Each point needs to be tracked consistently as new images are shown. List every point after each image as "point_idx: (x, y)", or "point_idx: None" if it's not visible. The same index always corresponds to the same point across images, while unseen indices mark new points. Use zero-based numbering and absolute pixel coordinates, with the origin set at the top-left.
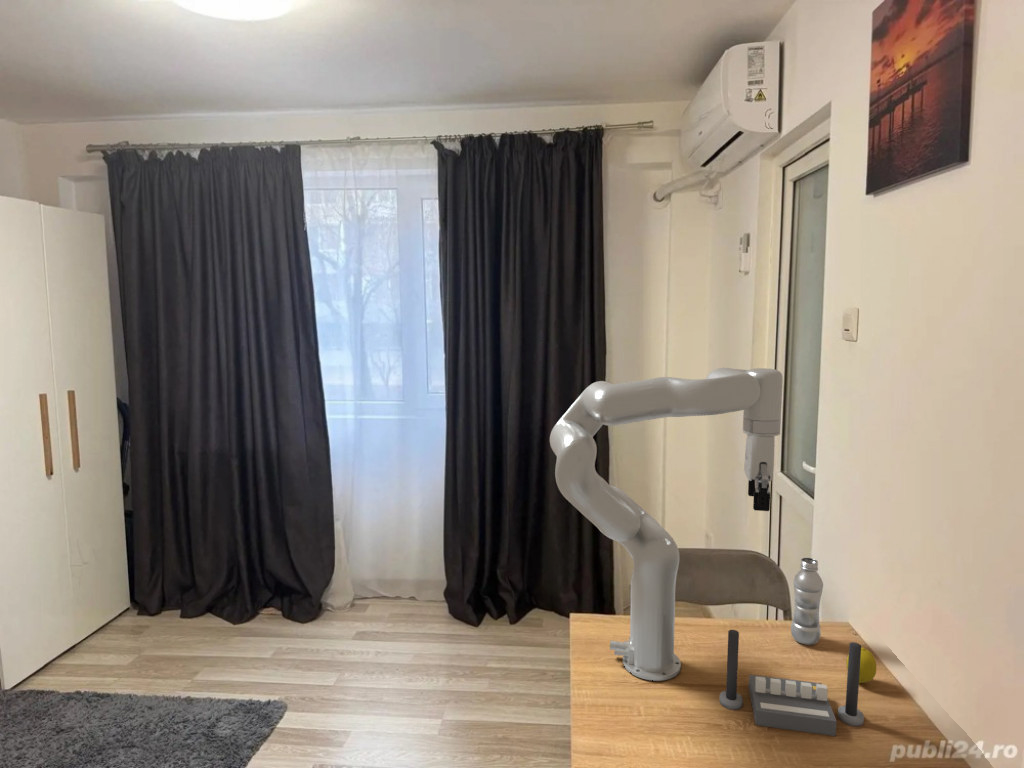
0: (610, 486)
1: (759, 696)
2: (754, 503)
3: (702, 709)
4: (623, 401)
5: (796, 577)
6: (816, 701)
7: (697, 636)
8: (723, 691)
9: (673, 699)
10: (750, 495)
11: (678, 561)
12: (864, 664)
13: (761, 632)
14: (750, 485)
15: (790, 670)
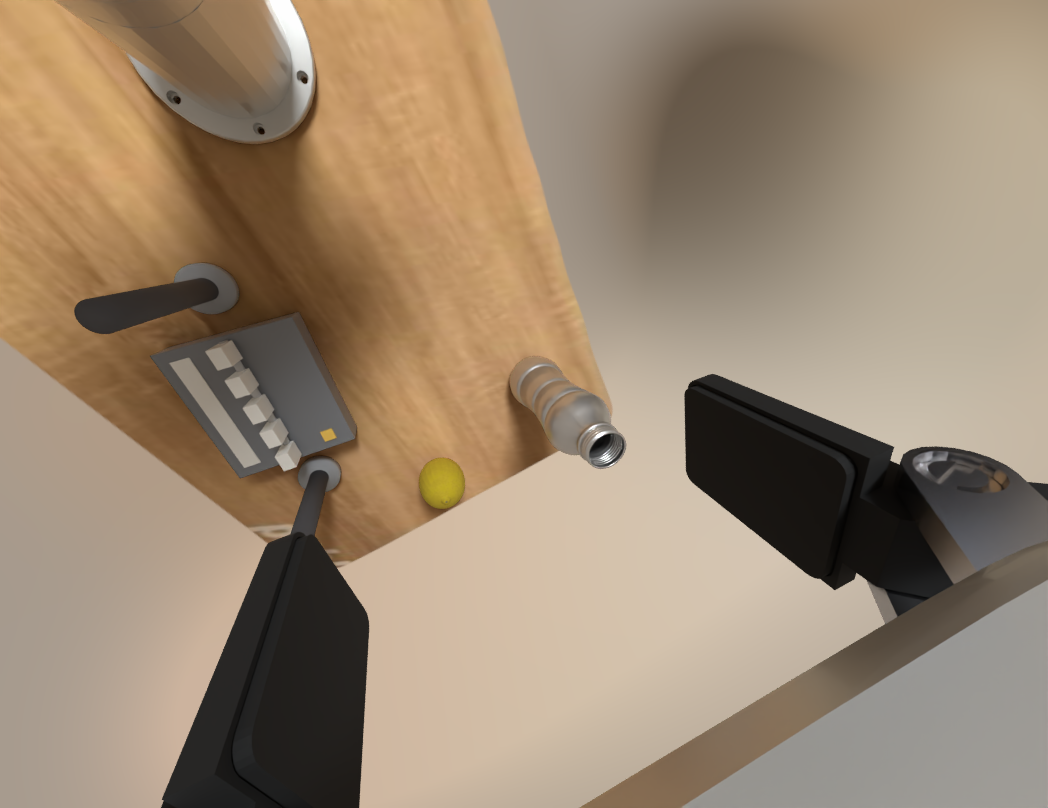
0: None
1: None
2: (249, 603)
3: (127, 231)
4: None
5: (574, 406)
6: None
7: (447, 163)
8: (216, 269)
9: (105, 149)
10: (686, 399)
11: None
12: (423, 496)
13: (528, 300)
14: (772, 440)
15: (415, 370)
